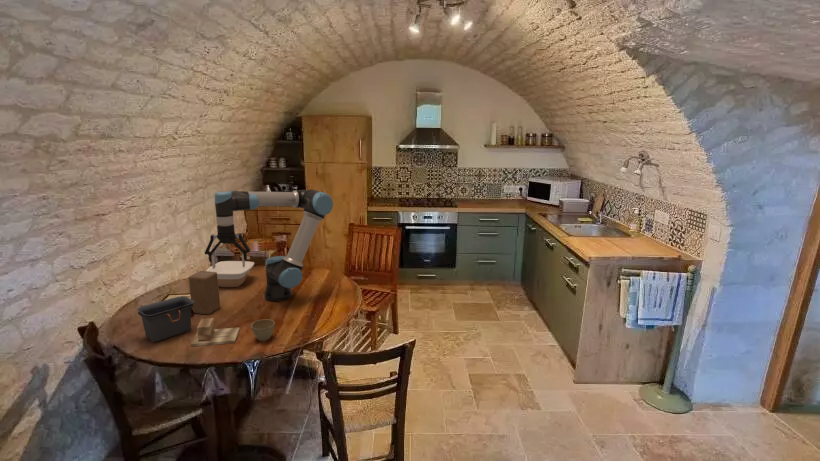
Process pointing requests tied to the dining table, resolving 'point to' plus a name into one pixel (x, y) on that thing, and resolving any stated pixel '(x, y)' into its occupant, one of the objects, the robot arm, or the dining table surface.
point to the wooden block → (204, 292)
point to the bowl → (231, 272)
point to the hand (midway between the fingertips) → (229, 267)
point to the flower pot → (263, 329)
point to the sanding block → (205, 329)
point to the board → (218, 337)
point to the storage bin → (166, 317)
